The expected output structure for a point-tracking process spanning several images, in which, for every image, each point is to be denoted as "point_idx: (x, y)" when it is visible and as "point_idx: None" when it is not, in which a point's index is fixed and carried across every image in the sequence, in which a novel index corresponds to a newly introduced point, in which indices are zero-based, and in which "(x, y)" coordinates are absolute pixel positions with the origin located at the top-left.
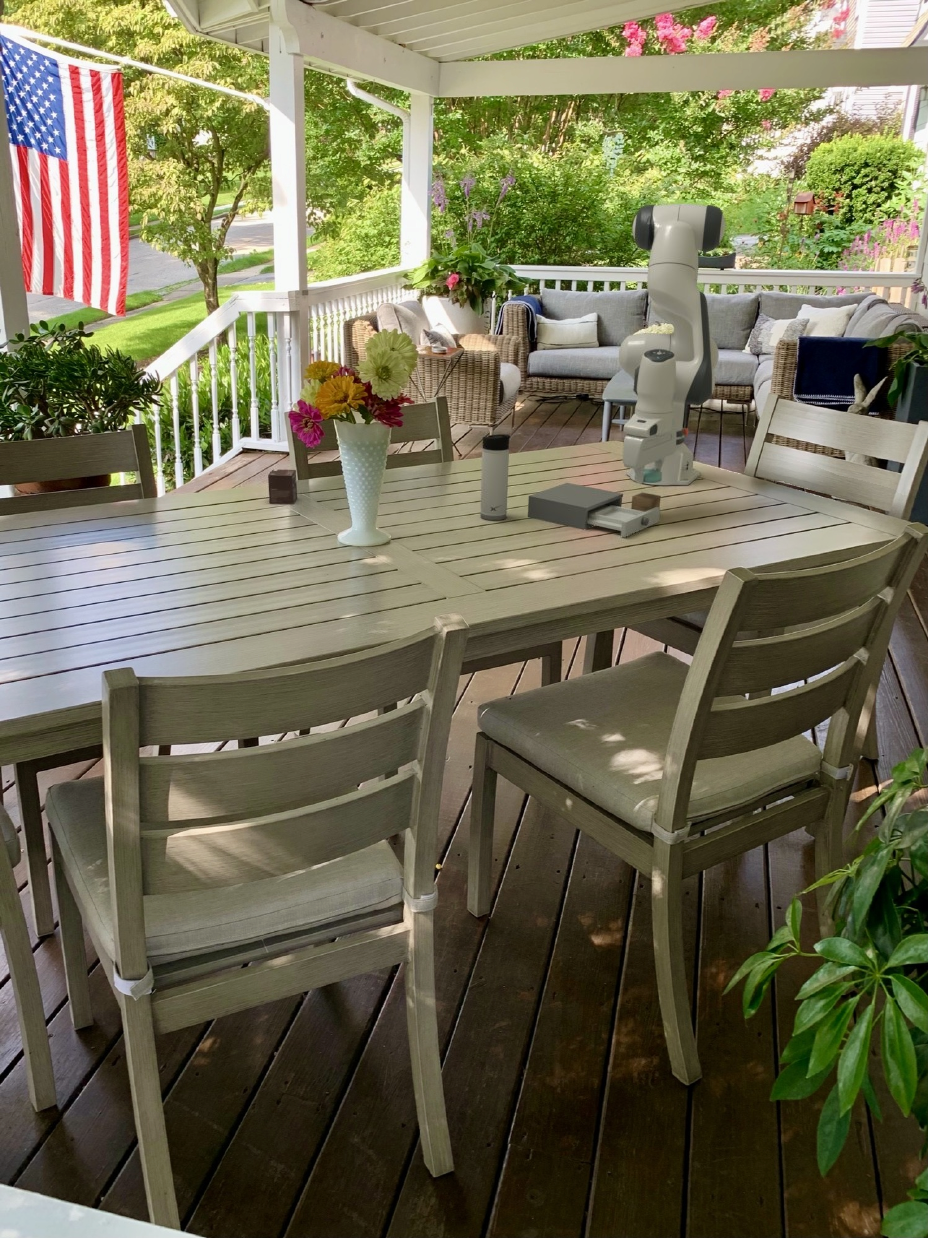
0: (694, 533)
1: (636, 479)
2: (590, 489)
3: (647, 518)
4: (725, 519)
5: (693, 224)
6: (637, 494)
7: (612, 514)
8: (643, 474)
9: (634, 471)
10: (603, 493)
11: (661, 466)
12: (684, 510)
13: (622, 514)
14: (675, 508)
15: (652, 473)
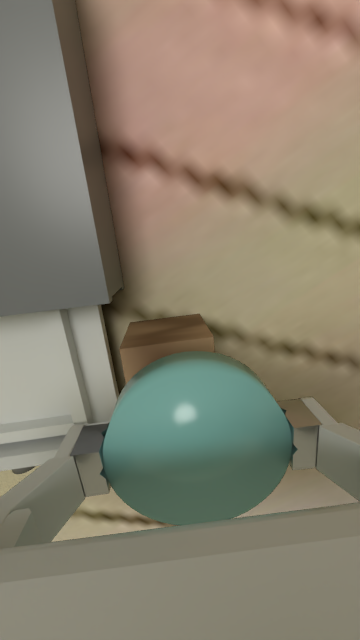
0: (133, 514)
1: (67, 440)
2: (24, 110)
3: (24, 471)
4: (301, 492)
5: None
6: (165, 344)
7: (3, 332)
8: (69, 513)
9: (9, 490)
10: (24, 229)
11: (345, 481)
12: (313, 387)
13: (37, 355)
14: (317, 358)
15: (199, 482)
